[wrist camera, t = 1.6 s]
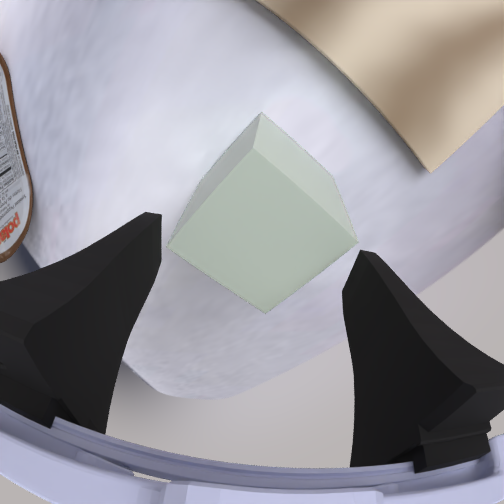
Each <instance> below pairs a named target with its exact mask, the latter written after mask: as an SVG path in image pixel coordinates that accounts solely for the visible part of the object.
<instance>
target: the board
mask: <svg viewBox="0 0 504 504" xmlns="http://www.w3.org/2000/svg"><path fill="white" fill-rule="evenodd" d="M256 1H257V2H258V3H260V4H261V5H263V6H264V7H265V8H267V9H268V10H269V11H271V12H272V13H273V14H275V15H276V16H277V17H279V18H280V19H281V20H282V21H284V22H285V23H286V24H288V25H289V26H290V27H291V28H292V29H294V30H295V31H296V32H297V33H299V34H300V35H301V36H302V37H303V38H304V39H306V40H307V41H308V42H309V43H310V44H311V45H313V46H314V47H315V48H316V49H317V50H318V51H319V52H320V53H322V54H323V55H324V56H325V57H326V58H327V59H328V60H329V61H330V62H331V63H332V64H333V65H334V66H336V67H337V68H338V69H339V70H340V71H341V72H342V73H343V74H344V75H345V76H346V77H347V78H348V79H349V80H350V81H351V82H352V83H353V84H354V85H355V86H356V87H357V88H358V89H359V90H360V92H361V93H362V94H363V95H364V96H365V97H366V98H367V99H368V100H369V101H370V102H371V103H372V104H373V106H374V107H375V108H376V109H377V110H378V111H379V112H380V113H381V114H382V116H383V117H384V118H385V119H386V120H387V121H388V123H389V124H390V125H391V126H392V127H393V128H394V130H395V131H396V132H397V133H398V135H399V136H400V137H401V138H402V139H403V141H404V142H405V143H406V144H407V146H408V147H409V148H410V150H411V151H412V152H413V153H414V155H415V156H416V157H417V159H418V160H419V161H420V163H421V164H422V165H423V167H424V168H425V169H426V170H427V171H428V172H429V173H432V172H433V171H434V170H435V169H436V168H438V167H439V166H440V165H441V164H442V163H443V162H444V161H445V160H446V159H447V158H449V157H450V156H451V155H452V154H453V153H454V152H455V151H456V150H457V149H458V148H459V147H460V146H462V145H463V144H464V143H465V142H466V141H467V140H468V139H469V138H470V137H471V136H472V135H473V134H474V133H475V132H476V131H478V130H479V129H480V128H481V127H482V126H483V125H484V124H485V123H486V122H487V121H488V120H489V119H490V118H491V117H492V116H493V115H494V114H495V113H496V112H497V111H498V110H499V109H500V108H501V107H502V106H503V105H504V0H256Z"/></svg>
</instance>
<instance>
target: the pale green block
mask: <svg viewBox="0 0 504 504" xmlns="http://www.w3.org/2000/svg"><path fill="white" fill-rule="evenodd" d="M357 243H359V242H358V239H357V236H356V233H355V231H354V228H353V225H352V223H351V220H350V218H349V215H348V212H347V210H346V207H345V205H344V202H343V200H342V197H341V195H340V192H339V190H338V188H337V185H336V183H335V180H334V178H333V176H332V175H331V174H330V173H329V172H328V171H327V170H326V169H325V168H324V167H323V166H322V165H321V164H320V163H319V162H318V161H317V160H315V159H314V158H313V157H312V156H311V155H310V154H309V153H308V152H307V151H306V150H305V149H304V148H302V147H301V146H300V145H299V144H298V143H297V142H296V141H295V140H294V139H292V138H291V137H290V136H289V135H288V134H287V133H286V132H284V131H283V130H282V129H281V128H280V127H279V126H278V125H276V124H275V123H274V122H273V121H272V120H271V119H269V118H268V117H267V116H266V115H265V114H263V113H262V112H261V113H260V114H259V115H258V116H257V117H256V118H255V120H254V121H253V122H252V123H251V124H250V125H249V126H248V127H247V128H246V129H245V130H244V132H243V133H242V134H241V135H240V136H239V137H238V138H237V139H236V140H235V142H234V143H233V144H232V145H231V146H230V147H229V148H228V149H227V151H226V152H225V153H224V154H223V155H222V156H221V157H220V159H219V160H218V161H217V162H216V163H215V164H214V166H213V167H212V168H211V169H210V170H209V171H208V173H207V174H206V175H205V176H204V177H203V178H202V180H201V181H200V183H199V185H198V186H197V188H196V190H195V192H194V194H193V196H192V198H191V199H190V201H189V203H188V205H187V207H186V209H185V211H184V213H183V215H182V217H181V218H180V220H179V222H178V224H177V226H176V228H175V230H174V232H173V234H172V236H171V238H170V240H169V242H168V244H167V246H166V247H167V248H168V249H170V250H171V251H172V252H174V253H175V254H177V255H178V256H180V257H181V258H182V259H184V260H185V261H187V262H188V263H190V264H191V265H193V266H194V267H196V268H197V269H199V270H200V271H201V272H203V273H204V274H206V275H207V276H209V277H210V278H212V279H213V280H215V281H216V282H218V283H219V284H221V285H222V286H224V287H225V288H227V289H228V290H230V291H231V292H233V293H234V294H236V295H237V296H239V297H240V298H242V299H243V300H245V301H246V302H248V303H249V304H251V305H252V306H254V307H256V308H257V309H259V310H260V311H262V312H263V313H265V314H266V313H267V312H269V311H270V310H271V309H273V308H274V307H276V306H277V305H278V304H280V303H281V302H282V301H284V300H285V299H286V298H288V297H289V296H290V295H292V294H293V293H294V292H296V291H297V290H298V289H300V288H301V287H302V286H304V285H305V284H306V283H308V282H309V281H310V280H312V279H313V278H314V277H315V276H317V275H318V274H319V273H321V272H322V271H323V270H325V269H326V268H327V267H328V266H330V265H331V264H332V263H334V262H335V261H336V260H337V259H339V258H340V257H341V256H342V255H344V254H345V253H346V252H347V251H349V250H350V249H351V248H352V247H354V246H355V245H356V244H357Z"/></svg>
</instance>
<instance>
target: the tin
mask: <svg viewBox="0 0 504 504" xmlns="http://www.w3.org/2000/svg"><path fill="white" fill-rule="evenodd" d="M32 206H33V194H32V183H31V178H30V174H29V170H28V166H27V162H26V159H25V155H24V150H23V146H22V141H21V137H20V132H19V127H18V122H17V117H16V112H15V106H14V100H13V93H12V86H11V80H10V75H9V71H8V68H7V65H6V63H5V60H4V58H3V57H2V55H1V53H0V263H2V262H4V261H6V260H7V259H8V258H10V257H11V256H12V255H13V254H14V253H15V252H16V250H17V249H18V248H19V246H20V244H21V243H22V241H23V239H24V238H25V236H26V234H27V231H28V228H29V225H30V221H31V215H32Z"/></svg>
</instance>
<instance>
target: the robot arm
mask: <svg viewBox="0 0 504 504" xmlns="http://www.w3.org/2000/svg"><path fill="white" fill-rule="evenodd" d="M161 219H162V215H161V214H155V213H148V212H145V213H143V214H141V215H139V216H138V217H136V218H134V219H133V220H131V221H130V222H128V223H126V224H125V225H123V226H122V227H120V228H118V229H117V230H115V231H114V232H112V233H110V234H109V235H107V236H106V237H104V238H102V239H100V240H99V241H97V242H95V243H93V244H92V245H90V246H88V247H87V248H85V249H83V250H81V251H79V252H77V253H75V254H73V255H71V256H69V257H67V258H65V259H63V260H61V261H58V262H56V263H54V264H51V265H49V266H46V267H44V268H41V269H39V270H36V271H34V272H31V273H28V274H25V275H22V276H18V277H15V278H12V279H8V280H5V281H0V474H1V475H2V476H4V477H5V478H7V479H9V480H10V481H12V482H14V483H15V484H17V485H19V486H20V487H22V488H24V489H26V490H27V491H29V492H31V493H33V494H35V495H37V496H39V497H40V498H42V499H44V500H46V501H48V502H50V503H52V504H496V503H498V502H500V501H502V500H504V434H501V435H498V436H495V437H493V438H491V439H489V440H488V437H487V434H486V433H488V432H489V431H491V426H490V422H489V421H490V420H491V419H493V418H494V417H495V416H497V415H498V414H499V413H500V412H501V411H503V410H504V364H502V363H500V362H498V361H496V360H495V359H493V358H491V357H489V356H488V355H486V354H485V353H483V352H482V351H480V350H479V349H477V348H476V347H474V346H473V345H471V344H470V343H468V342H467V341H466V340H464V339H463V338H462V337H461V336H459V335H458V334H457V333H456V332H454V331H453V330H452V329H451V328H449V327H448V326H447V325H446V324H445V323H444V322H443V321H441V320H440V319H439V318H438V317H437V316H436V315H435V314H434V313H433V312H432V311H430V310H429V309H428V308H427V307H426V306H425V305H424V304H423V302H422V301H421V300H420V299H419V298H418V297H417V296H416V295H415V294H414V293H413V292H412V291H411V290H410V289H409V288H408V287H407V286H406V285H405V283H404V282H403V281H402V280H401V279H400V278H399V277H398V276H397V275H396V274H395V272H394V271H393V270H392V269H391V268H390V267H389V266H388V265H387V264H386V263H385V262H384V261H383V260H382V259H381V258H380V257H379V256H378V255H377V254H376V253H374V252H369V251H364V250H360V252H359V254H358V256H357V259H356V261H355V263H354V266H353V268H352V270H351V272H350V275H349V277H348V279H347V281H346V284H345V286H344V288H343V290H342V302H343V315H344V321H345V326H346V332H347V337H348V342H349V348H350V353H351V359H352V365H353V373H354V395H355V405H354V407H355V409H354V411H355V412H354V432H353V445H352V453H351V461H350V468H284V467H267V466H255V465H245V464H236V463H228V462H221V461H214V460H207V459H201V458H196V457H190V456H185V455H180V454H175V453H170V452H166V451H162V450H158V449H153V448H149V447H145V446H142V445H138V444H134V443H131V442H127V441H124V440H120V439H117V438H114V437H111V436H108V435H105V433H106V427H107V421H108V414H109V409H110V404H111V399H112V395H113V391H114V386H115V382H116V379H117V375H118V370H119V367H120V364H121V360H122V357H123V354H124V350H125V347H126V344H127V341H128V338H129V336H130V333H131V331H132V328H133V326H134V324H135V322H136V320H137V318H138V316H139V313H140V311H141V309H142V307H143V305H144V303H145V301H146V299H147V297H148V295H149V292H150V290H151V288H152V286H153V284H154V281H155V278H156V276H157V273H158V270H159V267H160V264H161ZM130 470H131V471H130ZM132 471H135V472H139V473H142V474H146V475H150V476H154V477H158V478H162V479H167V480H171V482H170V483H167V482H161V481H155V480H150V479H145V478H140V477H135V476H134V474H133V472H132Z"/></svg>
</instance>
